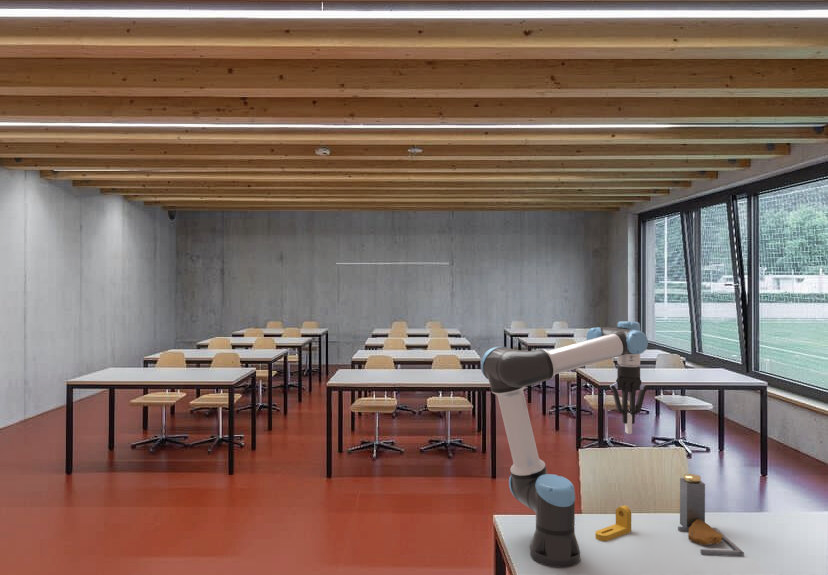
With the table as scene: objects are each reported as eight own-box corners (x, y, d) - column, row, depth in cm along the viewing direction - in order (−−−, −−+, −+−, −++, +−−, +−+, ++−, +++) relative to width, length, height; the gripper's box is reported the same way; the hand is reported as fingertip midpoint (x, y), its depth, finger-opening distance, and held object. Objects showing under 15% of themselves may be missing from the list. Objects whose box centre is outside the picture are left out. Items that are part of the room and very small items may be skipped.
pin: (687, 502, 200) (687, 478, 200) (681, 497, 205) (681, 473, 205) (703, 503, 200) (703, 478, 200) (696, 497, 205) (696, 473, 205)
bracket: (620, 527, 202) (620, 503, 202) (631, 532, 198) (631, 507, 198) (592, 538, 193) (592, 513, 193) (603, 542, 189) (603, 517, 190)
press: (701, 554, 181) (702, 503, 181) (671, 523, 206) (671, 477, 206) (743, 556, 180) (743, 504, 180) (707, 524, 205) (707, 478, 205)
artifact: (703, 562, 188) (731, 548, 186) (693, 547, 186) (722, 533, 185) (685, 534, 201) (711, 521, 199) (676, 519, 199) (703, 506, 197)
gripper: (612, 366, 200) (612, 435, 200) (651, 367, 200) (651, 435, 199) (606, 363, 208) (606, 429, 208) (644, 364, 207) (643, 430, 207)
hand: (628, 432), depth 203 cm, fingers closed
